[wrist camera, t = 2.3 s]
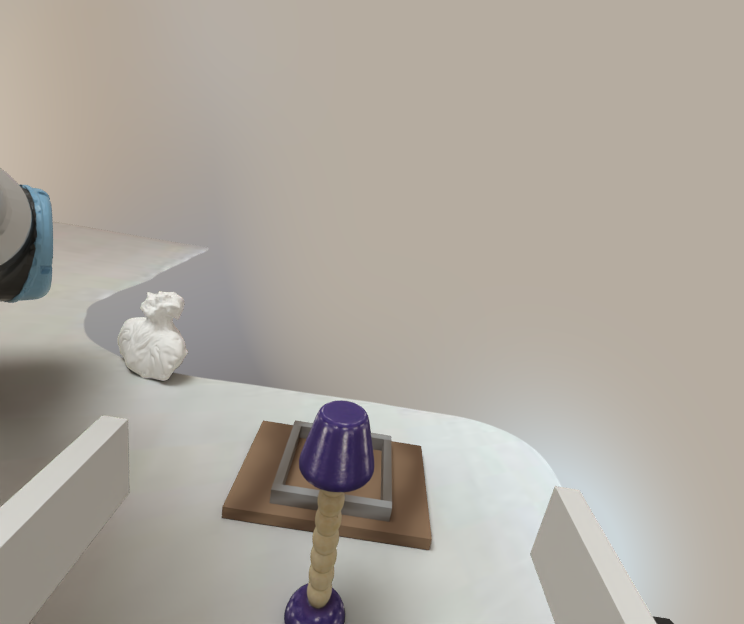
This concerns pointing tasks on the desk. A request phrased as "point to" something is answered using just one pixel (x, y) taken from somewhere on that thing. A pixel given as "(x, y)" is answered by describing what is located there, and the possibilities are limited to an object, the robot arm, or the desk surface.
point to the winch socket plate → (361, 507)
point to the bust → (154, 337)
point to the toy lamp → (330, 502)
